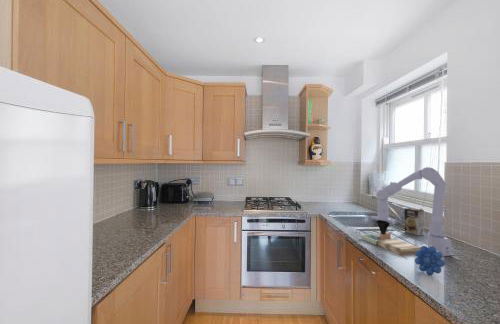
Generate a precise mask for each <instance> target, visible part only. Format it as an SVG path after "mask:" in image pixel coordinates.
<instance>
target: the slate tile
mask: <svg viewBox="0 0 500 324" xmlns="http://www.w3.org/2000/svg"><path fill="white" fill-rule="evenodd" d="M370 234H371V239H374V240H380V233H370Z"/></svg>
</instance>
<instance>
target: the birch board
mask: <svg viewBox="0 0 500 324" xmlns="http://www.w3.org/2000/svg"><path fill="white" fill-rule="evenodd" d="M377 246H378V247H380V246H381V247H380V248H383V249H386V250H387V251H390V252H392V253H395V254H398V255H400V256H406V255H416V254H415V253H416V251H417V250H420V248H421V247H422V246H417V245H416V244H415V245H414V244H413V243H412V244H411V243H408V242H406V241H402V240H401V239H397V238H394V239H385V240H378V245H377Z"/></svg>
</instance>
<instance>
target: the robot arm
mask: <svg viewBox="0 0 500 324" xmlns="http://www.w3.org/2000/svg"><path fill="white" fill-rule="evenodd" d="M422 179H424V180H426V181H428V182H430V183H431V184H432V185H433V186H434V188H433V189H434V190H433V201H432V212H431V221H430V222H429V224H428V228H427V229H428V232H427V248H428V247H429V246H433V247H435V249H436V251H439V252H441V253H442V255H443V256H442V257H447V256H448V257H449V256H453V255H454V254H453V253H452V251H453V248H452V240H451V239H450V238H448V237H446V234H444V233H445V226H444V224H443V216H444V208H445V207H444V205H445V195H446V184H447V183H446V181H445V179H444V178H443V176H441V174H440V172H439V171H437V170H436V169H435V168H433V167H430V166H429V167H428V166H426V167H424V168H422V169H419V170H417V171H415V172H413V173H411V174H409V175H408V176H406V177H404V178H403V179H401V180H399V181H393V182H392V181H391V182H389V184H388V185H386V186H382V189H379V190H377V192H376V193H375V194H376V197H377V202H376V205H377V211H376V212H377V215H371V220H376V224H377V226H378V229H379V231H380V232H381V234H386V232H387V230H388V227H389V226H390V224H392V225H396V223H397V221H396V219H392V218H390V217H389V216H390V212H389V207H390V205H389V197H392V196H394V195H395V194H397V193H399V192H401V191H402V188H403V187H405V186H406V185H408V184H409V183H411V182H412V183H413V181H415V180H422ZM380 232H379V233H380Z"/></svg>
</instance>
